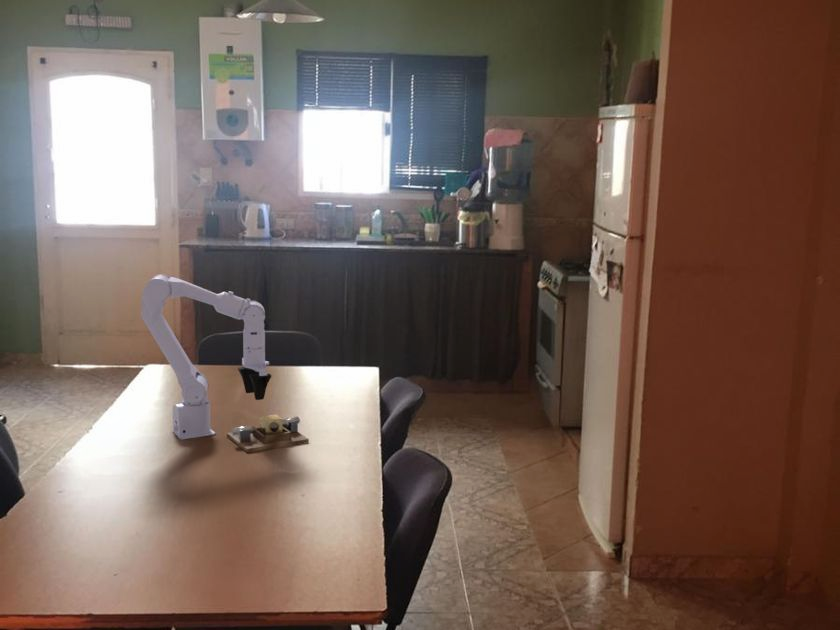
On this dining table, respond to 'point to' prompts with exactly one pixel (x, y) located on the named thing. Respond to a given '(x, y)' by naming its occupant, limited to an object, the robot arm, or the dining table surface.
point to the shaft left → (244, 433)
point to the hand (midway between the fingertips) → (254, 396)
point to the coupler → (270, 424)
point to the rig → (269, 440)
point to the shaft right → (291, 424)
